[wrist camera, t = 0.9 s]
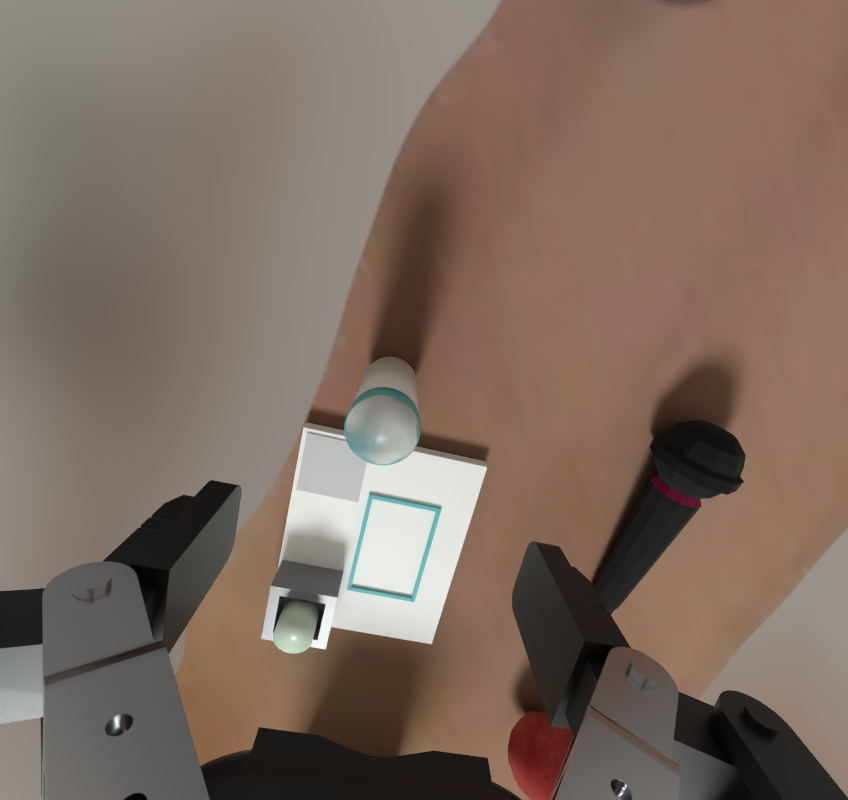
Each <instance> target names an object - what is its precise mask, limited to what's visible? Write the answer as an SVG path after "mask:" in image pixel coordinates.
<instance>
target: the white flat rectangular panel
mask: <svg viewBox="0 0 848 800" xmlns="http://www.w3.org/2000/svg"><path fill="white" fill-rule="evenodd" d="M486 470H487V465H486V463H485V461H482V460H477V459H472V458H468V457H463V456H459V455H454V454H449V453H445V452H440V451H436V450H431V449H427V448H422V447H417V446H416V448H415V449H414V450H413V452H412V453H411V454H410V455H409V456H408V457H407V458H405V459H404V460H402V461H400V462H398V463H395V464H391V465H375V464H371V463H368V462H366V461H364V460H362V459H360V458H359V457H358V456H356V455H355V454H354V453H353V451H352V450H351V449H350V447H349V446H348V444H347V442H346V439H345V434H344V430H339V429H335V428H330V427H326V426H321V425H317V424H312V423H306V425H305V426H304V428H303V434H302V439H301V445H300V450H299V455H298V461H297V466H296V472H295V477H294V483H293V488H292V494H291V499H290V505H289V510H288V516H287V521H286V527H285V532H284V538H283V543H282V549H281V554H280V560H279V565H278V568H279V566H280V564H281V561H282V560H287V561H292V562H297V563H303V564H308V565H314V566H319V567H324V568H330V569H335V570H340V571H343V575H342V580H341V584H340V589H339V594H338V598H337V602H336V607H335V611H334V615H333V620H332V624H331V627H335V628H340V629H346V630H352V631H358V632H364V633H369V634H375V635H381V636H387V637H392V638H398V639H404V640H410V641H416V642H421V643H427V644H432V641H433V638H434V635H435V632H436V628H437V625H438V622H439V619H440V616H441V613H442V609H443V606H444V603H445V600H446V597H447V593H448V590H449V587H450V584H451V581H452V578H453V574H454V571H455V568H456V565H457V562H458V559H459V555H460V552H461V549H462V546H463V543H464V539H465V536H466V533H467V530H468V527H469V524H470V520H471V517H472V514H473V511H474V508H475V504H476V501H477V498H478V495H479V492H480V489H481V485H482V482H483V479H484V476H485V473H486ZM289 599H290V598H289V597H285V599H284V604H285V603H286V602H287V601H288V600H289ZM316 603H317V602H316ZM317 605H318V606H319V610H322V611H324V610H325V605H326V604H322V603H317Z"/></svg>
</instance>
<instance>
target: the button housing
mask: <svg viewBox="0 0 848 800" xmlns="http://www.w3.org/2000/svg"><path fill="white" fill-rule="evenodd" d="M342 575H343V571H340V570H335V569H330V568H324V567H319V566H314V565H308V564H303V563H297V562H292V561H287V560H282V561H281V564H280V566H279V568H278V571H277V573H276V575H275V577H274V580H273V582H272V584H271V588H270V593H269V599H268V605H267V610H266V616H265V621H264V627H263V632H262V638H261V639H267V640H272V641H274V640H273V634H274V631H275V628H276V625H277V623H278V620H279V617H280V615H281V612H282V609H283V606H284V599H285V597H289V598H294V599H300V600H306V601H311V602H317V603H322V604H326V605H325V610H324V611H322V610H320V613H319V618H318V621H317V625H316V629H315V633H314V637H313V641H312V644H311V645H310V647H314V648H320V649H326V646H327V641H328V637H329V633H330V628H331V624H332V620H333V615H334V611H335V607H336V602H337V598H338V594H339V589H340V584H341V580H342Z"/></svg>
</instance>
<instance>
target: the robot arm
mask: <svg viewBox="0 0 848 800" xmlns="http://www.w3.org/2000/svg"><path fill="white" fill-rule="evenodd" d="M668 1H674V2H679V3H697V2H703V1H706V0H668ZM240 499H241V486H239V485H234V484H229V483H223V482H218V481H213V480H211V481H209V482H208V483H207V484H206V485H205V486H204V487H203V488H202V489H201V490H200V491H199V492H198V493H197V494H196V496H195V497H192V496H187V495H182V496H180V497H178V498H176V499H173V500H171V501H169V502H167V503H164V504H163V505H162V506H161V507H160V508H159V509H158V510H157V511H156V512H155V513H154V514H153V515H152V517H151V518H149V519H147V520H146V521H145V522H144V523H143V524H142V525H141V528H138V529H137V530H136V531H135V532H134V533H133V534H131V535H130V536H129V537H128V538H127V539H126V540H125V541H124V542H123V543H122V544H121V545H120V546H119V547H118V548H116V549H115V550H114V551H113V552H112V553H111V554H110V555H109V556H108V557H107V558H106V559H105V560H104V561H103V562H93V563H88V564H83V565H79V566H76V567H73V568H71V569H69V570H66V571H64V572H63V573H61V574H59V575H58V576H56V577H55V578H53V579H52V580H51V581H50V582H49V583H48V584H47V586H46V587H45V588H42V589H32V590H15V591H0V724H2V723H8V722H14V721H21V720H28V719H34V718H40V729H41V730H40V734H41V735H40V736H41V737H40V739H41V800H521V799H520V798H519V797H517V796H516V795H514V794H513V793H512V792H510V791H509V790H507V789H505V788H503V787H502V786H500V785H498V784H496V783H494V782H492V781H491V775H490V769H489V763H488V758H484V757H476V756H469V755H461V754H454V753H446V752H439V751H429V752H423V753H416V754H410V755H403V756H397V757H390V758H384V759H373V758H370V757H368V756H365V755H363V754H361V753H358V752H356V751H354V750H351V749H349V748H346V747H344V746H342V745H339V744H337V743H335V742H332V741H330V740H328V739H325V738H323V737H321V736H318V735H312V734H305V733H297V732H290V731H282V730H275V729H267V728H260V727H259V729H258V732H257V735H256V738H255V742H254V745H253V748H252V749H251V750H245V751H239V752H236V753H232V754H228V755H225V756H222V757H219V758H217V759H214V760H212V761H209V762H207V763H205V764H203V765H202V766H200V764H199V760H198V756H197V753H196V749H195V746H194V742H193V739H192V735H191V732H190V728H189V725H188V721H187V718H186V714H185V711H184V707H183V704H182V700H181V697H180V693H179V689H178V686H177V682H176V679H175V675H174V672H173V668H172V665H171V661H170V658H169V653H170V651H171V649H172V648H173V646H174V644H175V643H176V641H177V640H178V638H179V637H180V635H181V633H182V632H183V630H184V629H185V627H186V626H187V624H188V622H189V621H190V619H191V618H192V616H193V614H194V613H195V611H196V610H197V608H198V606H199V605H200V603H201V602H202V600H203V599H204V597H205V595H206V594H207V592H208V591H209V589H210V587H211V586H212V584H213V583H214V581H215V579H216V578H217V576H218V575H219V573H220V572H221V570H222V568H223V567H224V565H225V564H226V562H227V560H228V558H229V556H230V553H231V551H232V547H233V544H234V540H235V534H236V527H237V520H238V513H239V505H240ZM512 608H513V612H514V616H515V619H516V622H517V625H518V628H519V631H520V634H521V637H522V640H523V643H524V646H525V649H526V652H527V656H528V659H529V662H530V665H531V668H532V671H533V674H534V677H535V680H536V683H537V686H538V689H539V692H540V695H541V698H542V702H543V705H544V708H545V711H546V714H547V717H548V720H549V723H550V726H552V727H559V728H566V729H571V731H572V734H573V736H574V737H573V739H572V742H571V744H570V747H569V749H568V752H567V754H566V757H565V759H564V762H563V765H562V767H561V770H560V773H559V775H558V778H557V780H556V783H555V786H554V788H553V791H552V794H551V796H550V799H549V800H848V798H847V796H846V795H845V794H844V793H843V791H842V790H841V789H840V788H839V786H838V785H837V784H836V783H835V782H834V780H833V779H832V778H831V777H830V775H829V774H828V773H827V772H826V770H825V769H824V768H823V767H822V765H821V764H820V763H819V762H818V761H817V760H816V758H815V757H814V756H813V754H812V753H811V752H810V751H809V749H808V748H807V747H806V746H805V745H804V743H803V742H802V741H801V740H800V738H799V737H798V736H797V735H796V733H795V732H794V731H793V730H792V729H791V728H790V726H788V724H787V723H786V722H785V721H784V720H783V719H782V718H781V717H780V716H779V715H777V714H776V713H775V712H774V711H773V710H771V709H770V708H769V707H767V706H766V705H764V704H763V703H761V702H760V701H758V700H756V699H754V698H752V697H750V696H748V695H746V694H743V693H741V692H737V691H731V690H729V691H724V692H722V693H721V694H720V696H719V698H718V700H717V702H716V704H715V706H712V705H709V704H707V703H704V702H702V701H700V700H697V699H695V698H692V697H690V696H688V695H685V694H683V693H680V692H678V688H677V686H676V684H675V682H674V680H673V679H672V677H671V676H670V675H669V673H668V672H667V671H666V670H665V669H664V668H663V667H662V666H661V665H660V664H659V663H657V662H656V661H655V660H653V659H652V658H650V657H649V656H647V655H646V654H644V653H642V652H640V651H637V650H635V649H632V648H631V647H630V646H629V644H628V643H627V641H626V639H625V638H624V636H623V634H622V633H621V631H620V629H619V628H618V626H617V625H616V623H615V621H614V620H613V618H612V616H611V615H610V613H609V612H608V611H606V607H605V605H604V603H603V602H602V600H601V599H600V598H599V595H598V594H597V592H596V590H595V589H594V587H593V585H592V584H591V582H590V581H589V580H588V579H587V578H586V577H585V576H584V575H583V574H582V573H581V572H580V571H578V570H577V569H576V568H574V567H571V566H570V564H569V562H568V560H567V559H566V557H565V555H564V553H563V552H562V550H561V548H560V547H559V546H555V545H549V544H544V543H539V542H531V543H530V544H529V545H528V547H527V550H526V553H525V556H524V559H523V562H522V565H521V568H520V571H519V573H518V576H517V579H516V582H515V585H514V589H513V594H512Z"/></svg>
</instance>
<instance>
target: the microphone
mask: <svg viewBox="0 0 848 800" xmlns="http://www.w3.org/2000/svg"><path fill="white" fill-rule="evenodd" d="M650 448H651V450H652V453H653V455H654V459H653V462H654V464H655V467H656V469H657V471H658V474H659V475H658V476H655V477H651V478H650V480H649V482H648V483H647V485H646V487H645V489H644V491H643V493H642V495H641V496H640V498H639V500H638V501H637V502H636V503H635V505H634V507H633V509H632V511H631V513H630V514H629V516H628V521H627V522H626V524H625V526H624V528H623V530H622V532H621V533H620V535H619V537H618V539H617V541H616V543H615V545H614V546H613V548H612V550H611V552H610V554H609V556H608V558H607V559H606V561H605V563H604V565H603V567H602V569H601V571H600V572H599V574H598V576H597V578H596V580H595V582H594V584H593V587H594V589H595V590H596V592H597V594H598V595H599V598H600V599H601V600H602V602H603V603H604V605H605V607H606V611H608V612H609V613H610V615H611V614H612V612H613V611H614V610H615V609H617V608H618V607H619V606H620V605H621V604H622V603H623V601H624V600H625V599H626V598H627V596H628V595H629V594H630V593H631V591H632V590H633V589H634V588H635V587H636V585H637V584H638V583H639V582H640V580H641V579H642V578H643V577H644V575H645V574H646V573H647V572H648V571H649V569H650V568H651V567H652V566H653V564H654V563H655V562H656V561H657V560H658V558H659V557H660V556H661V555H662V553H663V552H664V551H665V550H666V548H667V547H668V546H669V545H670V544H671V542H672V541H673V540H674V539H675V537H676V536H677V535H678V534H679V533H680V531H681V530H682V529H683V528H684V526H685V525H686V524H687V523H688V521H689V520H690V519H691V518H692V517H693V515H694V514H695V513H696V512H697V510H698V509H699V508H700V507H701V501H700V499H701V498H712V497H714V496H717V495H719V494H721V493H723V494H730V493H732V492H735V491H736V490H737V489H738V488H739V487H740V486H741V484H742V483H743V482H744V481H743V480H742V479H741V477H740V475H741V472H742V470H743V468H744V462H745V453H744V451H743V449H742V447H741V446H740V444H739V442H738V440H737V439H736V438H735V436H734V435H732V434H731V433H729V432H727V431H726V430H724V429H722V428H720V427H718V426H716V425H714V424H712V423H709V422H706V421H703V420H695V421H687V422H680V423H677V424H675V425H674V426H673V427H671V428H670V429H668V430H667V431H666V432H665V433H664V434H663V435H662V436H657V437H654V439H653V441H652V443H651V445H650Z"/></svg>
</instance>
